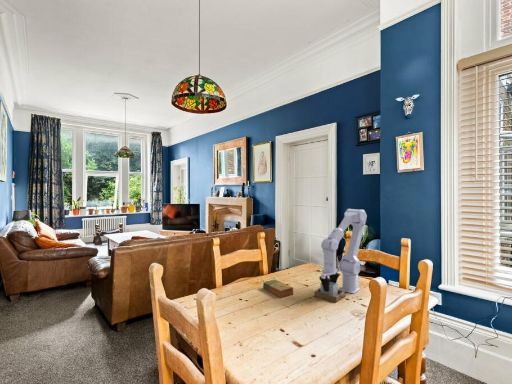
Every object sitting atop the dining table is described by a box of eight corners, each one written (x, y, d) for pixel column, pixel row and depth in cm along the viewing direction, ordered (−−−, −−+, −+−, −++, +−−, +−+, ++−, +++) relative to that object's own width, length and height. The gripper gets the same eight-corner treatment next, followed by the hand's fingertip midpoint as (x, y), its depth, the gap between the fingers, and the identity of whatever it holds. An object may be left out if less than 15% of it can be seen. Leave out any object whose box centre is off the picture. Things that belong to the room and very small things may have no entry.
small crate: (325, 292, 143) (325, 280, 143) (337, 295, 138) (337, 283, 138) (320, 294, 139) (320, 283, 139) (333, 298, 135) (333, 286, 135)
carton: (280, 299, 137) (280, 290, 137) (262, 289, 150) (262, 281, 150) (293, 295, 141) (293, 287, 141) (274, 286, 155) (274, 278, 155)
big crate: (323, 290, 146) (323, 286, 146) (345, 296, 138) (345, 291, 138) (314, 296, 139) (314, 291, 139) (336, 302, 131) (336, 297, 131)
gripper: (329, 258, 147) (329, 283, 147) (315, 264, 136) (315, 291, 136) (341, 260, 142) (341, 286, 142) (328, 266, 131) (328, 294, 131)
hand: (329, 289), depth 139 cm, fingers open, 7 cm apart
